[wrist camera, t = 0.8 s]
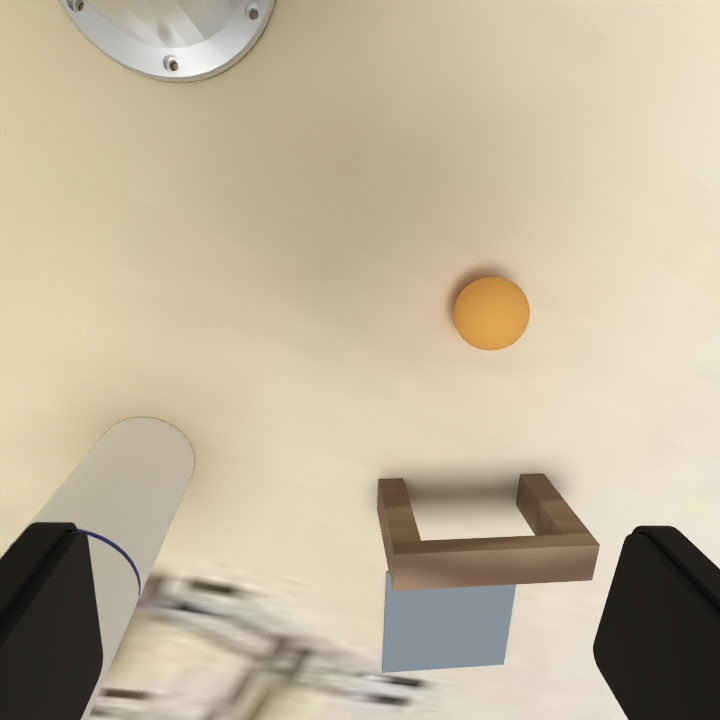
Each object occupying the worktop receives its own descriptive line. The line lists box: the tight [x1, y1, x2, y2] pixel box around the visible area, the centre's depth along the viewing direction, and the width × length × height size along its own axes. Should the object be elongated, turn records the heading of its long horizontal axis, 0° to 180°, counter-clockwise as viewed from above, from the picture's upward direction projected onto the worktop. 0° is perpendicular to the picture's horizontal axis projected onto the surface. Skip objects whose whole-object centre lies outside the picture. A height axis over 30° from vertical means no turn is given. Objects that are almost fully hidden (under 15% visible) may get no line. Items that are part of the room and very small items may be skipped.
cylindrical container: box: [0, 417, 195, 720], centre depth 26 cm, size 7×7×25 cm
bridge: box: [377, 474, 600, 591], centre depth 37 cm, size 3×14×9 cm, turn 89°
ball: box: [454, 277, 530, 350], centre depth 33 cm, size 5×5×5 cm
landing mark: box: [382, 571, 516, 673], centre depth 46 cm, size 12×12×1 cm
